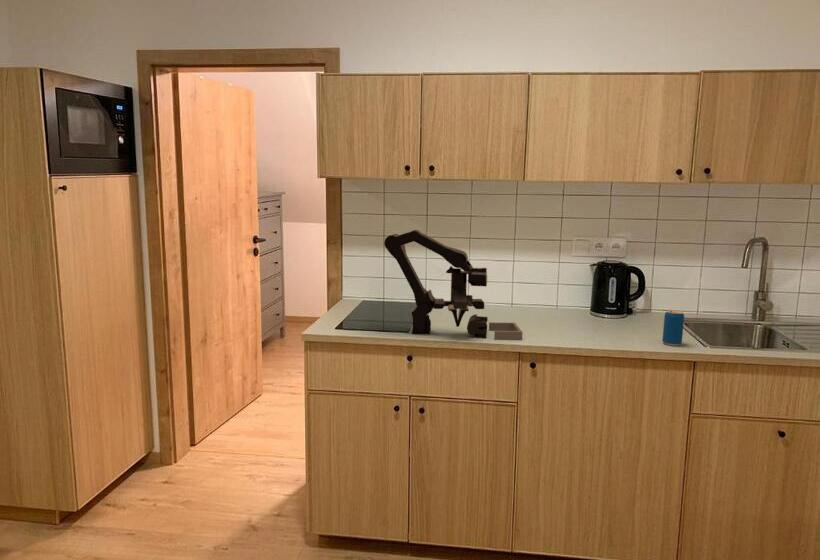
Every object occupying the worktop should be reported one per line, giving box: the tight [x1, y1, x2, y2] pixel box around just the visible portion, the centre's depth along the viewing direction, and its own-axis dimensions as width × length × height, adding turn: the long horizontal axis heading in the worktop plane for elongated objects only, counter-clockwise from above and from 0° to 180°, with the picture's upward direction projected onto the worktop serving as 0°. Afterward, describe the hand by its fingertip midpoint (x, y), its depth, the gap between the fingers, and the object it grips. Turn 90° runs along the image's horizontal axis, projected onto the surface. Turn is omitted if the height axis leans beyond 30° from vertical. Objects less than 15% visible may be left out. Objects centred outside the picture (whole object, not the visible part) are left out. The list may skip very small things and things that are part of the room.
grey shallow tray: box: [488, 321, 523, 341], centre depth 238 cm, size 10×14×3 cm
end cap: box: [466, 313, 489, 339], centre depth 237 cm, size 10×7×7 cm
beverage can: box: [662, 309, 685, 347], centre depth 228 cm, size 6×6×12 cm
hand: (457, 326), depth 237 cm, fingers closed
